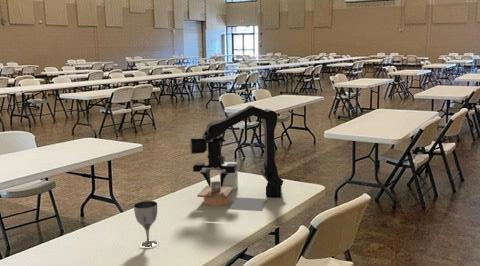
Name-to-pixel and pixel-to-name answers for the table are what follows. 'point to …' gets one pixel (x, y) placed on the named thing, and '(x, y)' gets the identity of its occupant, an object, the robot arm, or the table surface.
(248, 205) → the mat
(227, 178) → the supplement box
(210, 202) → the bowl
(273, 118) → the robot arm
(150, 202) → the wine glass
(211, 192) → the lid
